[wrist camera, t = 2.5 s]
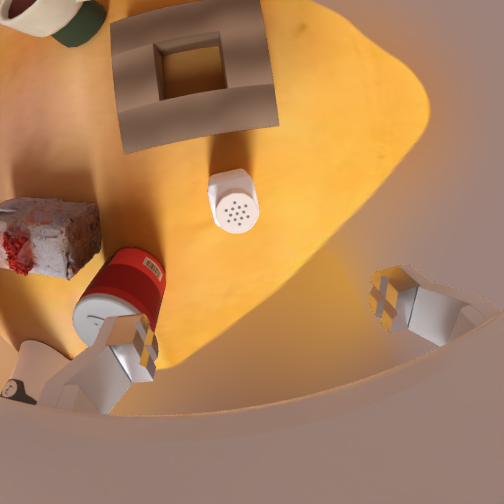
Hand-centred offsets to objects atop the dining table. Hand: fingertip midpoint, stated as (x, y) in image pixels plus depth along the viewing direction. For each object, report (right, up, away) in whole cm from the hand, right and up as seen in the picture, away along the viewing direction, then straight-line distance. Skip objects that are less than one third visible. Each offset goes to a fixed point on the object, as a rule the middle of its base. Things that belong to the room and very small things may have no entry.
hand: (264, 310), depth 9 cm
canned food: (-14, -1, +22) cm, 26 cm away
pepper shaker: (-3, +9, +19) cm, 22 cm away
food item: (-24, +6, +18) cm, 31 cm away
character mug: (-20, +28, +8) cm, 35 cm away
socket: (-6, +20, +14) cm, 25 cm away
